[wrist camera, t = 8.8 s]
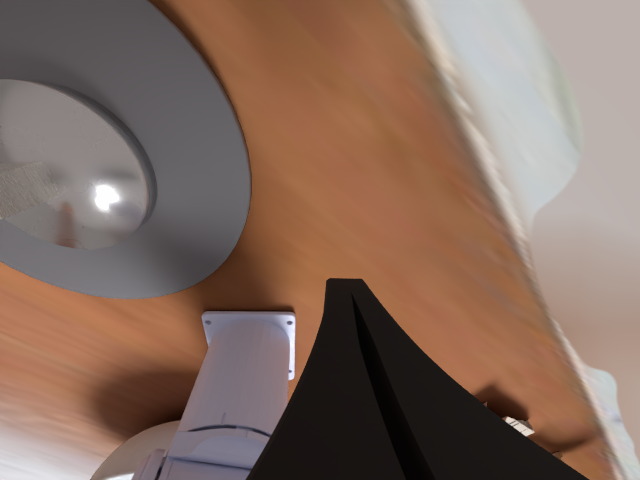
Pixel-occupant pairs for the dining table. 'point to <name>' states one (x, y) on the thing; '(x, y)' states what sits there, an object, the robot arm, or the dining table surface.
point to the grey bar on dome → (70, 167)
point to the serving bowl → (136, 452)
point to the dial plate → (152, 132)
